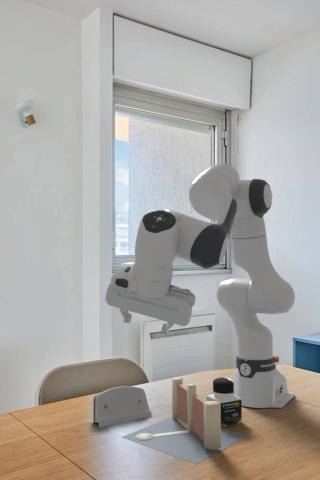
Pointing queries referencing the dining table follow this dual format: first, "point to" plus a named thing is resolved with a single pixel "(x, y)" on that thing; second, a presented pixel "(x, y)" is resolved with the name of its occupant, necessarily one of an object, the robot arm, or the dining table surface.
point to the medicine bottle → (227, 401)
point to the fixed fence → (183, 402)
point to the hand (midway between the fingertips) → (145, 326)
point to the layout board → (181, 440)
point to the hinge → (120, 405)
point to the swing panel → (207, 421)
